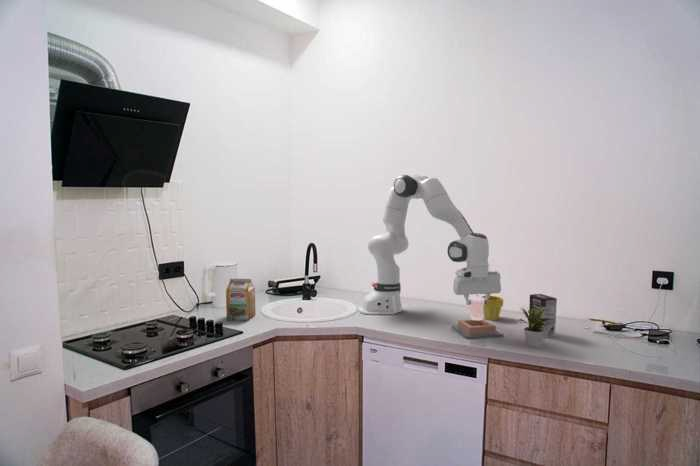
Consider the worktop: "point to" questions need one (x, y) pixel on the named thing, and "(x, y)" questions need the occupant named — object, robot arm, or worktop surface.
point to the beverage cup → (477, 307)
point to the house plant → (534, 327)
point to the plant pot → (492, 308)
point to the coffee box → (545, 311)
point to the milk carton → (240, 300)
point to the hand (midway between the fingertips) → (476, 304)
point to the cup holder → (476, 329)
